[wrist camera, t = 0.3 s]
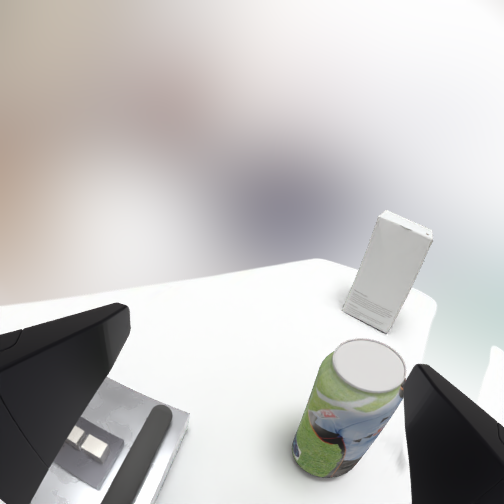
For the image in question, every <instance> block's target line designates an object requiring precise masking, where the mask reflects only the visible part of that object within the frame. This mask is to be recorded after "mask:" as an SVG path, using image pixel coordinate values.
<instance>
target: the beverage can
mask: <svg viewBox="0 0 504 504" xmlns="http://www.w3.org/2000/svg"><path fill="white" fill-rule="evenodd" d="M405 376H406V365H405V363H404V361H403V359H402V357H401V356H400V355H399V354H398V353H397V352H396V351H395V350H394V349H392V348H391V347H389V346H388V345H386V344H384V343H381V342H379V341H375V340H371V339H363V338H361V339H351V340H348V341H345V342H343V343H341V344H340V345H339V346H338V347H337V348H336V349H335V351H333V352H332V353H331V354H329V355H328V356H327V357H326V358H325V359H324V361H323V362H322V364H321V366H320V368H319V371H318V374H317V377H316V380H315V383H314V386H313V389H312V392H311V395H310V398H309V400H308V403H307V406H306V409H305V411H304V414H303V417H302V420H301V422H300V425H299V427H298V430H297V433H296V435H295V438H294V441H293V444H292V452H293V456H294V459H295V460H296V462H297V464H298V465H299V466H300V467H301V468H302V469H304V470H305V471H306V472H308V473H310V474H312V475H315V476H318V477H328V478H330V477H337V476H340V475H343V474H345V473H347V472H348V471H350V470H351V469H352V468H353V467H354V466H355V465H356V464H357V462H358V461H359V460H360V459H361V458H362V456H363V455H364V454H365V452H366V451H367V450H368V449H369V447H370V446H371V445H372V443H373V442H374V441H375V439H376V438H377V437H378V435H379V434H380V432H381V431H382V430H383V428H384V427H385V425H386V424H387V422H388V421H389V419H390V418H391V416H392V415H393V413H394V412H395V410H396V409H397V407H398V406H399V404H400V402H401V401H402V399H403V397H404V396H403V386H404V383H405V381H406V378H405Z"/></svg>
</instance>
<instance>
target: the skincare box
mask: <svg viewBox="0 0 504 504" xmlns="http://www.w3.org/2000/svg"><path fill="white" fill-rule="evenodd" d="M432 242H433V234H432V230H430V229H428V228H426V227H424V226H422V225H420V224H417V223H415V222H413V221H411V220H408V219H406V218H404V217H401V216H399V215H397V214H394V213H392V212H390V211H388V210H386V211H384V212H383V213H382V214H381V215H379V216H378V219H377V222H376V225H375V228H374V230H373V234H372V236H371V239H370V242H369V245H368V247H367V250H366V252H365V255H364V258H363V260H362V263H361V265H360V268H359V270H358V273H357V275H356V278H355V280H354V283H353V285H352V288H351V290H350V292H349V295H348V297H347V299H346V302H345V304H344V307H343V309H342V311H343V312H345V313H348V314H349V315H351V316H353V317H355V318H357V319H359V320H361V321H363V322H365V323H367V324H369V325H371V326H373V327H375V328H377V329H379V330H381V331H383V332H385V333H388V331H389V330H390V328H391V326H392V324H393V323H394V321H395V319H396V317H397V315H398V313H399V311H400V309H401V307H402V305H403V304H404V302H405V300H406V298H407V296H408V294H409V292H410V290H411V287H412V285H413V283H414V281H415V279H416V277H417V275H418V272H419V270H420V268H421V266H422V264H423V261H424V259H425V257H426V254H427V252H428V250H429V247H430V246H431V244H432Z"/></svg>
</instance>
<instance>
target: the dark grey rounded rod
mask: <svg viewBox="0 0 504 504" xmlns="http://www.w3.org/2000/svg"><path fill="white" fill-rule="evenodd" d="M172 417H173V415H172V411H171V409H170V408H169V407H167V406H165V405H156V406H155V407H153V409H152V410H151V412H150V414H149V416H148V417H147V419H146V421H145V423H144V425H143V426H142V428H141V430H140V432H139V434H138V435H137V437H136V439H135V441H134V443H133V445H132V446H131V448H130V450H129V452H128V454H127V456H126V457H125V459H124V461H123V463H122V465H121V466H120V468H119V470H118V472H117V474H116V476H115V478H114V479H113V481H112V483H111V485H110V487H109V489H108V490H107V492H106V494H105V496H104V498H103V500H102V502H101V503H100V504H131V502H132V500H133V498H134V496H135V494H136V492H137V490H138V488H139V486H140V484H141V482H142V480H143V478H144V476H145V474H146V472H147V470H148V468H149V465H150V463H151V461H152V459H153V457H154V455H155V453H156V451H157V449H158V447H159V445H160V443H161V441H162V439H163V437H164V435H165V433H166V431H167V428H168V426H169V424H170V422H171V420H172Z"/></svg>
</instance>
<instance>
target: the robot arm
mask: <svg viewBox="0 0 504 504" xmlns="http://www.w3.org/2000/svg"><path fill="white" fill-rule="evenodd" d="M130 329H131V326H130V311H129V307H128V306H126V305H123V304H120V303H113V304H109V305H106V306H102V307H99V308H95V309H92V310H88V311H85V312H81V313H78V314H74V315H71V316H67V317H64V318H60V319H57V320H53V321H49V322H46V323H42V324H39V325H35V326H32V327H28V328H24V329H23V330H22V329H20V330H17V331H13V332H9V333H5V334H1V335H0V499H1V500H2V501H3V502H5V503H6V504H30V503H31V501H32V499H33V497H34V495H35V494H36V492H37V490H38V488H39V486H40V485H41V483H42V481H43V479H44V477H45V476H46V474H47V472H48V470H49V469H48V468H50V467H51V465H52V463H53V461H54V460H55V458H56V456H57V455H58V453H59V451H60V450H61V448H62V446H63V445H64V443H65V441H66V440H67V438H68V436H69V435H70V433H71V431H72V430H73V428H74V427H75V425H76V423H77V422H78V420H79V419H80V417H81V415H82V414H83V412H84V411H85V409H86V407H87V406H88V404H89V403H90V401H91V400H92V398H93V397H94V395H95V393H96V392H97V390H98V389H99V387H100V386H101V384H102V383H103V381H104V380H105V378H106V377H107V375H108V374H109V372H110V370H111V369H112V367H113V365H114V363H115V361H116V359H117V357H118V355H119V353H120V351H121V349H122V347H123V345H124V344H125V342H126V340H127V338H128V336H129V334H130ZM403 396H404V414H405V431H406V440H407V448H408V455H409V467H410V478H411V494H412V504H504V427H503V426H502V425H501V424H499V423H497V421H496V420H495V419H493V418H492V417H491V416H490V415H489V414H487V413H486V412H485V411H484V410H483V409H481V408H480V407H479V406H478V405H477V404H475V403H474V402H473V401H472V400H470V399H469V398H468V397H467V396H466V395H465V394H463V393H462V392H461V391H460V390H458V389H457V388H456V387H455V386H453V385H452V384H451V383H450V382H449V381H447V380H446V379H445V378H444V377H442V376H441V375H440V374H439V373H437V372H436V371H435V370H434V369H433V368H431V367H430V366H429V365H427V364H416V365H415V366H414V367H413V369H412V371H411V373H410V374H409V376H408V378H407V380H406V381H405V383H404V386H403Z"/></svg>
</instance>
